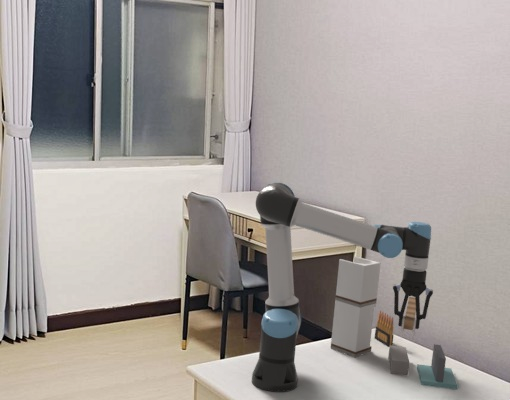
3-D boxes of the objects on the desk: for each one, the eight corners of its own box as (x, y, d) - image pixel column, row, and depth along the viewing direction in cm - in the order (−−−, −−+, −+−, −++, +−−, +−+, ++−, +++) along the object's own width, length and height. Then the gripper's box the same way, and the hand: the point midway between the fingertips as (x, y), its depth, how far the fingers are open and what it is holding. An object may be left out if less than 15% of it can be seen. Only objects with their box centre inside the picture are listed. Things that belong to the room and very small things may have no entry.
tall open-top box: (370, 351, 269) (380, 262, 264) (354, 357, 261) (364, 265, 256) (346, 343, 276) (355, 256, 272) (330, 348, 269) (339, 259, 264)
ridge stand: (421, 384, 239) (424, 356, 238) (416, 368, 255) (420, 341, 254) (457, 389, 238) (460, 361, 236) (450, 372, 253) (453, 345, 252)
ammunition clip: (392, 347, 276) (395, 317, 275) (388, 347, 276) (391, 317, 274) (378, 338, 286) (381, 309, 284) (374, 338, 285) (377, 309, 284)
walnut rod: (412, 330, 230) (413, 321, 230) (403, 328, 231) (404, 319, 230) (416, 305, 261) (417, 298, 260) (408, 304, 261) (409, 296, 261)
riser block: (390, 373, 247) (392, 360, 247) (388, 358, 263) (389, 345, 262) (407, 375, 246) (409, 362, 246) (404, 360, 262) (405, 347, 262)
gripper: (390, 267, 231) (382, 336, 234) (440, 274, 227) (431, 344, 230) (391, 263, 238) (384, 329, 241) (440, 269, 234) (432, 337, 237)
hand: (407, 336), depth 236 cm, fingers closed on walnut rod, 3 cm apart
